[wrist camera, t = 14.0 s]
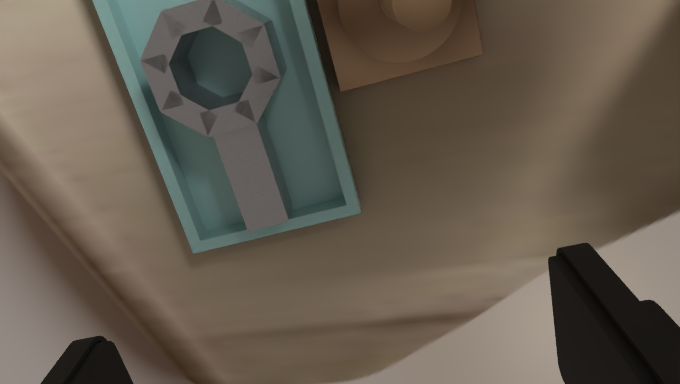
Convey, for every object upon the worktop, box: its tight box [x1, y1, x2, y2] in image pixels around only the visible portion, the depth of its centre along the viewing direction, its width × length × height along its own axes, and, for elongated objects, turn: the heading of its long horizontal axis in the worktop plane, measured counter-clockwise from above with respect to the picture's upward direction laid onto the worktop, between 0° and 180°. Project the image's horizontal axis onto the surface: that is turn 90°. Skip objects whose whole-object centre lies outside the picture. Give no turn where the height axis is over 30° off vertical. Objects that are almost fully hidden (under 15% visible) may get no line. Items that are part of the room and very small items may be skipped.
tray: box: [92, 0, 361, 254], centre depth 30 cm, size 18×10×2 cm, turn 15°
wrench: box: [140, 0, 293, 231], centre depth 29 cm, size 12×6×4 cm, turn 15°
